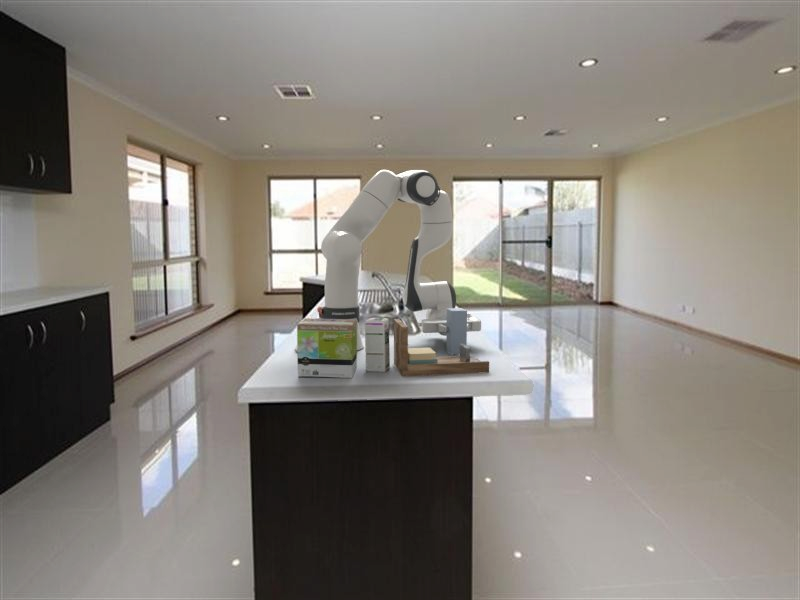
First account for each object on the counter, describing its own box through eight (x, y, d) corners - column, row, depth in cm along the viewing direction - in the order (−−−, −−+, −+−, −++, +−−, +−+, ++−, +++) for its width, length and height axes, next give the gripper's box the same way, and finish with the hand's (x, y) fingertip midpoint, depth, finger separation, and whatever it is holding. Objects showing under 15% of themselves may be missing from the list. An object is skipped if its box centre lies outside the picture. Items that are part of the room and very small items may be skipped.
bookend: (459, 360, 156) (459, 343, 155) (477, 360, 157) (477, 343, 156) (465, 365, 150) (466, 348, 149) (484, 364, 151) (484, 347, 150)
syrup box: (385, 372, 149) (385, 320, 147) (365, 371, 150) (364, 320, 148) (390, 367, 154) (389, 317, 153) (370, 366, 156) (369, 317, 154)
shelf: (393, 364, 158) (393, 318, 156) (473, 360, 162) (474, 316, 161) (402, 376, 144) (402, 327, 143) (489, 372, 149) (490, 324, 147)
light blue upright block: (451, 354, 170) (451, 311, 169) (446, 350, 176) (446, 308, 174) (466, 353, 171) (467, 310, 169) (461, 349, 177) (461, 308, 175)
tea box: (297, 378, 143) (295, 323, 141) (305, 368, 153) (304, 317, 151) (353, 378, 142) (352, 324, 141) (357, 369, 152) (357, 318, 151)
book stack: (403, 361, 155) (403, 347, 155) (430, 360, 156) (430, 346, 156) (409, 368, 147) (409, 354, 147) (437, 367, 148) (437, 352, 148)
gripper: (416, 314, 184) (425, 320, 170) (473, 312, 187) (486, 318, 174) (416, 332, 184) (425, 340, 171) (473, 330, 188) (486, 338, 174)
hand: (456, 329), depth 172 cm, fingers closed on light blue upright block, 5 cm apart
